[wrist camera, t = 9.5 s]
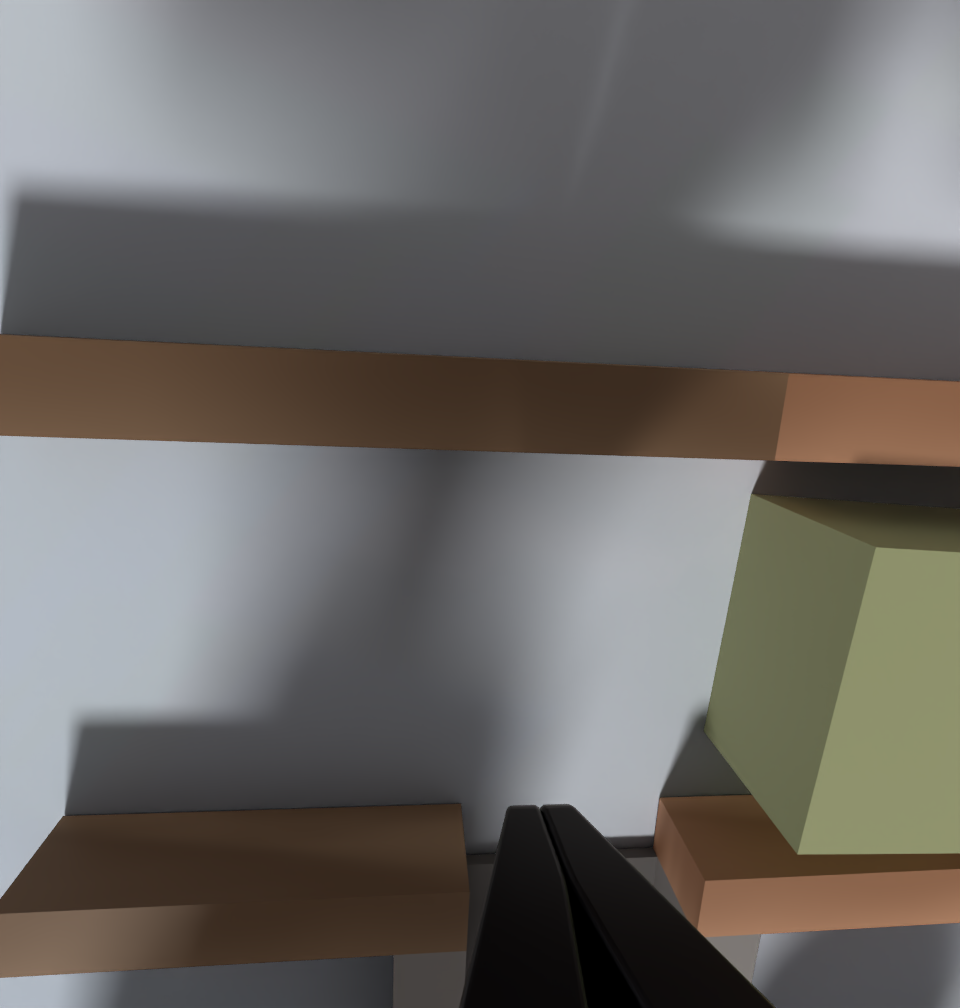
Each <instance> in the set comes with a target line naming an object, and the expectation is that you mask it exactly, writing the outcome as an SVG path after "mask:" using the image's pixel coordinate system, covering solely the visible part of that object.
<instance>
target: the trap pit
mask: <svg viewBox="0 0 960 1008" xmlns="http://www.w3.org/2000/svg"><path fill="white" fill-rule="evenodd" d="M617 850H618V851H619V852H620V853H621V854H622V855H623V856H624V857H625V858H626V859H627V860H628V861H629V862H630V863H631V864H632V865H633V866H634V867H635V868H636V869H637V870H638V871H639V872H640V873H641V874H642V875H643V876H644V877H645V878H646V879H647V880H648V881H649V882H650V883H651V884H652V885H653V886H654V887H655V888H656V889H657V890H658V891H659V892H660V893H661V894H662V895H663V896H664V897H665V898H666V899H667V900H668V901H669V902H670V903H671V904H672V905H673V906H674V907H675V908H676V909H677V910H678V911H679V912H680V913H681V914H682V915H683V916H684V917H685V918H686V916H685V914H684V912H683V910H682V908H681V906H680V904H679V901H678V899H677V897H676V895H675V893H674V891H673V889H672V887H671V885H670V883H669V880H668V878H667V876H666V874H665V872H664V870H663V868H662V866H661V864H660V862H659V859H658V857H657V855H656V853H655V851H654V849H653V848H632V849H617ZM495 855H496V854H483V855H466V860H467V870H468V880H469V890H470V895H469V913H468V932H467V950H466V951H457V952H440V953H423V954H405V955H394V969H393V1008H459V1005H460V1001H461V996H462V992H463V988H464V984H465V980H466V976H467V972H468V967H469V963H470V959H471V955H472V951H473V947H474V942H475V938H476V934H477V930H478V926H479V922H480V918H481V913H482V909H483V905H484V901H485V897H486V893H487V889H488V884H489V880H490V876H491V872H492V868H493V864H494V860H495ZM686 919H687V918H686ZM760 937H761V934H754V935H736V936H719V937H705V938H706V939H707V940H708V941H709V942H710V943H711V944H712V945H713V946H714V947H715V948H716V949H717V950H718V951H719V952H720V953H721V954H722V955H723V956H724V957H725V958H726V959H727V960H728V961H729V962H730V963H731V964H732V965H733V966H734V967H735V968H736V969H737V970H738V971H739V972H740V973H741V974H742V975H743V976H744V977H745V978H746V979H747V980H748V981H749V982H750V983H751V982H752V977H753V972H754V967H755V962H756V957H757V952H758V947H759V942H760Z"/></svg>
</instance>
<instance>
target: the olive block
mask: <svg viewBox="0 0 960 1008" xmlns="http://www.w3.org/2000/svg"><path fill="white" fill-rule="evenodd" d="M704 732H705V733H706V735H707V736H708V737H709V739H710V740H711V741H712V743H713V744H714V745H715V747H716V748H717V749H718V751H719V752H720V753H721V755H722V756H723V757H724V758H725V760H726V761H727V762H728V764H729V765H730V766H731V768H732V769H733V770H734V772H735V773H736V774H737V776H738V777H739V778H740V780H741V781H742V782H743V784H744V785H745V786H746V787H747V789H748V790H749V791H750V793H751V794H752V795H753V797H754V798H755V799H756V801H757V802H758V803H759V805H760V806H761V807H762V809H763V810H764V811H765V813H766V814H767V815H768V816H769V818H770V819H771V820H772V822H773V823H774V824H775V826H776V827H777V828H778V830H779V831H780V832H781V834H782V835H783V836H784V838H785V839H786V840H787V842H788V843H789V844H790V845H791V847H792V848H793V849H794V851H795V852H796V853H797V854H945V853H960V509H957V508H943V507H929V506H914V505H900V504H886V503H872V502H858V501H844V500H830V499H816V498H802V497H788V496H774V495H760V494H751V497H750V502H749V507H748V512H747V517H746V522H745V527H744V532H743V537H742V542H741V547H740V552H739V557H738V562H737V567H736V572H735V577H734V582H733V587H732V592H731V597H730V602H729V607H728V612H727V617H726V622H725V627H724V632H723V637H722V642H721V647H720V652H719V657H718V662H717V667H716V672H715V677H714V682H713V687H712V692H711V697H710V702H709V707H708V712H707V717H706V722H705V727H704Z"/></svg>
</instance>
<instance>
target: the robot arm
mask: <svg viewBox="0 0 960 1008" xmlns="http://www.w3.org/2000/svg"><path fill="white" fill-rule="evenodd" d="M459 1008H776V1007H775V1006H774V1005H773V1004H772V1003H771V1002H770V1001H769V1000H768V999H767V998H766V997H765V996H764V995H763V994H761V993H760V992H759V991H758V990H757V989H756V988H755V987H754V986H753V985H752V984H751V983H750V982H749V981H748V980H747V979H746V978H745V977H744V976H743V975H742V974H741V973H740V972H739V971H738V970H737V969H736V968H735V967H734V966H733V965H732V964H731V963H730V962H729V961H728V960H727V959H726V958H725V957H724V956H723V955H722V954H721V953H720V952H719V951H718V950H717V949H716V948H715V947H714V946H713V945H712V944H711V943H710V942H709V941H708V940H707V939H706V938H705V937H704V936H703V935H702V934H701V933H700V932H699V931H698V930H697V929H696V928H695V927H694V926H693V925H692V924H691V923H690V922H689V921H688V920H687V919H686V918H685V917H684V916H683V915H682V914H681V913H680V912H679V911H678V910H677V909H676V908H675V907H674V906H673V905H672V904H671V903H670V902H669V901H668V900H667V899H666V898H665V897H664V896H663V895H662V894H661V893H660V892H659V891H658V890H657V889H656V888H655V887H654V886H653V885H652V884H651V883H650V882H649V881H648V880H647V879H646V878H645V877H644V876H643V875H642V874H641V873H640V872H639V871H638V870H637V869H636V868H635V867H634V866H633V865H632V864H631V863H630V862H629V861H628V860H627V859H626V858H625V857H624V856H623V855H622V854H621V853H620V852H619V851H618V850H617V849H616V848H615V847H614V846H613V845H612V844H611V843H610V842H609V841H608V840H607V839H606V838H605V837H604V836H603V835H602V834H601V833H600V832H599V831H598V830H597V829H596V828H595V827H594V826H593V825H592V824H591V823H590V822H589V821H588V820H587V819H586V818H585V817H584V816H583V815H582V814H581V813H580V812H579V811H578V810H577V809H576V808H575V807H573V806H571V805H569V804H551V805H543V806H542V807H541V808H540V809H539V807H537V806H536V805H513V806H509V807H508V808H507V810H506V814H505V818H504V822H503V826H502V830H501V835H500V839H499V843H498V847H497V851H496V855H495V860H494V864H493V868H492V872H491V876H490V880H489V884H488V889H487V893H486V897H485V901H484V905H483V909H482V913H481V918H480V922H479V926H478V930H477V934H476V938H475V942H474V947H473V951H472V955H471V959H470V963H469V967H468V972H467V976H466V980H465V984H464V988H463V992H462V996H461V1001H460V1005H459Z"/></svg>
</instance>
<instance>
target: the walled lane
mask: <svg viewBox="0 0 960 1008" xmlns="http://www.w3.org/2000/svg"><path fill="white" fill-rule="evenodd" d="M0 435H1V436H31V437H62V438H93V439H124V440H155V441H185V442H216V443H247V444H278V445H309V446H339V447H370V448H401V449H432V450H463V451H493V452H524V453H555V454H586V455H617V456H647V457H678V458H709V459H740V460H771V461H802V462H832V463H863V464H894V465H925V466H956V467H960V381H945V380H925V379H904V378H884V377H864V376H843V375H823V374H803V373H783V372H762V371H742V370H722V369H701V368H681V367H661V366H641V365H620V364H600V363H580V362H559V361H539V360H519V359H499V358H478V357H458V356H438V355H417V354H397V353H377V352H356V351H336V350H316V349H296V348H275V347H255V346H235V345H214V344H194V343H174V342H154V341H133V340H113V339H93V338H72V337H52V336H32V335H12V334H0ZM653 849H654V851H655V853H656V855H657V857H658V859H659V862H660V864H661V866H662V868H663V870H664V872H665V874H666V876H667V878H668V880H669V883H670V885H671V887H672V889H673V891H674V893H675V895H676V897H677V899H678V901H679V904H680V906H681V908H682V910H683V912H684V914H685V916H686V918H687V920H688V921H689V922H690V923H691V924H692V925H693V926H694V927H695V928H696V929H697V930H698V931H699V932H700V933H701V934H702V935H703V936H704V937H719V936H736V935H754V934H771V933H789V932H806V931H823V930H841V929H858V928H876V927H893V926H911V925H928V924H945V923H960V853H945V854H797V853H796V852H795V851H794V849H793V848H792V847H791V845H790V844H789V843H788V842H787V840H786V839H785V838H784V836H783V835H782V834H781V832H780V831H779V830H778V828H777V827H776V826H775V824H774V823H773V822H772V820H771V819H770V818H769V816H768V815H767V814H766V813H765V811H764V810H763V809H762V807H761V806H760V805H759V803H758V802H757V801H756V799H755V798H754V797H753V795H728V796H696V797H663V798H660V800H659V807H658V814H657V822H656V829H655V836H654V843H653ZM469 895H470V890H469V880H468V870H467V860H466V850H465V840H464V830H463V820H462V810H461V804H437V805H405V806H372V807H340V808H308V809H275V810H243V811H211V812H178V813H146V814H114V815H81V816H63V817H62V818H61V820H60V821H59V822H58V824H57V825H56V826H55V827H54V829H53V830H52V831H51V833H50V834H49V835H48V837H47V838H46V839H45V841H44V842H43V843H42V845H41V846H40V847H39V849H38V850H37V851H36V853H35V854H34V855H33V857H32V858H31V859H30V861H29V862H28V863H27V864H26V866H25V867H24V868H23V870H22V871H21V872H20V874H19V875H18V876H17V878H16V879H15V880H14V882H13V883H12V884H11V886H10V887H9V888H8V890H7V891H6V892H5V894H4V895H3V896H2V897H1V899H0V978H4V977H22V976H39V975H57V974H74V973H92V972H109V971H126V970H144V969H161V968H179V967H196V966H214V965H231V964H248V963H266V962H283V961H301V960H318V959H335V958H353V957H370V956H388V955H405V954H423V953H440V952H457V951H466V950H467V932H468V913H469Z"/></svg>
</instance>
